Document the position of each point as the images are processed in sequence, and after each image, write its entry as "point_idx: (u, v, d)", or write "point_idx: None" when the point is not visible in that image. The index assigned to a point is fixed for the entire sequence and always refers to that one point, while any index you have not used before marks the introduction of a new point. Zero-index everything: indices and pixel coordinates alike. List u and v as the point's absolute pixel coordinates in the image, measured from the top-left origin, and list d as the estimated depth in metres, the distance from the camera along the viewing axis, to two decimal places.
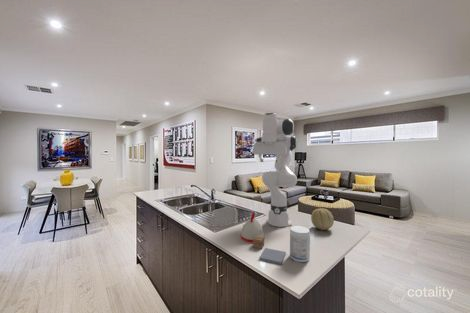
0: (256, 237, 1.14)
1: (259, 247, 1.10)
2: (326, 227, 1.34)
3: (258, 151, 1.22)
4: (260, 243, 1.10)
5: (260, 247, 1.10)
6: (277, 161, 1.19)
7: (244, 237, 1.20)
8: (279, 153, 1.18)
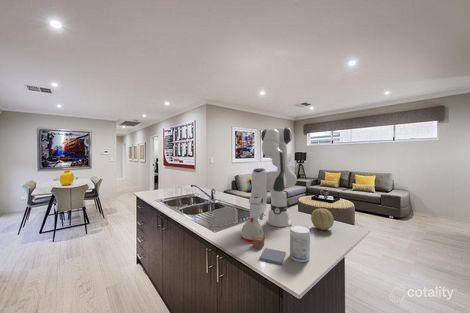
0: (256, 237, 1.14)
1: (259, 247, 1.10)
2: (326, 227, 1.34)
3: (258, 213, 1.06)
4: (260, 243, 1.10)
5: (260, 247, 1.10)
6: (262, 218, 1.17)
7: (244, 237, 1.20)
8: (264, 210, 1.18)
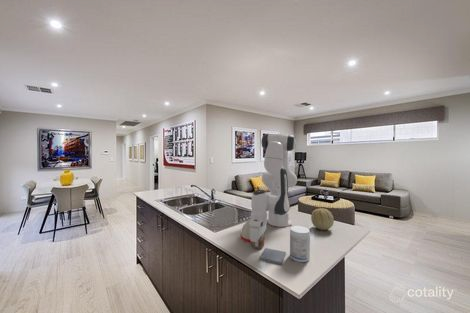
0: None
1: (259, 247, 1.11)
2: (326, 227, 1.34)
3: (258, 237, 1.07)
4: (260, 243, 1.10)
5: (260, 247, 1.10)
6: None
7: (244, 237, 1.20)
8: (264, 230, 1.18)
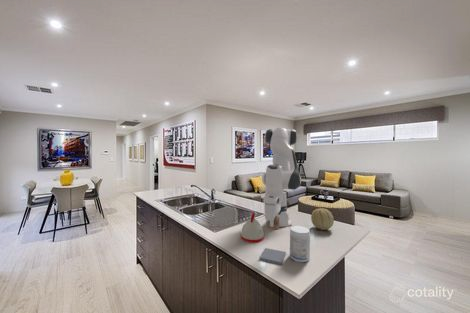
0: None
1: (274, 227, 0.99)
2: (326, 227, 1.34)
3: (274, 215, 0.95)
4: (276, 223, 0.99)
5: (276, 227, 0.99)
6: None
7: (244, 237, 1.20)
8: (279, 210, 1.07)
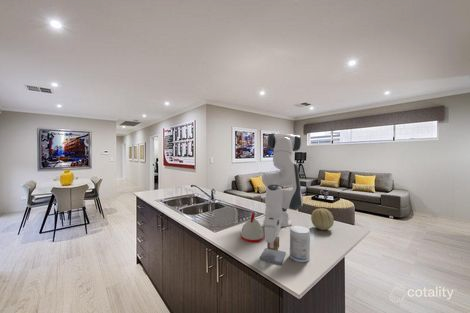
0: None
1: (274, 248, 0.99)
2: (326, 227, 1.34)
3: (274, 237, 0.95)
4: (276, 244, 0.99)
5: (276, 248, 0.99)
6: None
7: (244, 237, 1.20)
8: (279, 230, 1.07)
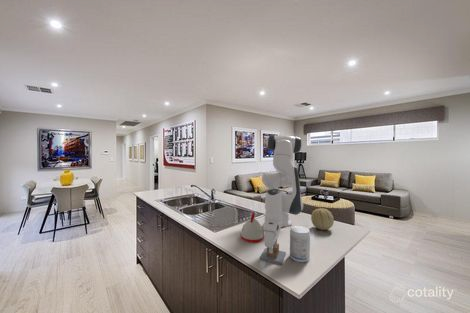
0: None
1: (274, 255, 0.99)
2: (326, 227, 1.34)
3: (274, 241, 0.95)
4: (275, 251, 0.99)
5: (275, 255, 0.99)
6: None
7: (244, 237, 1.20)
8: None
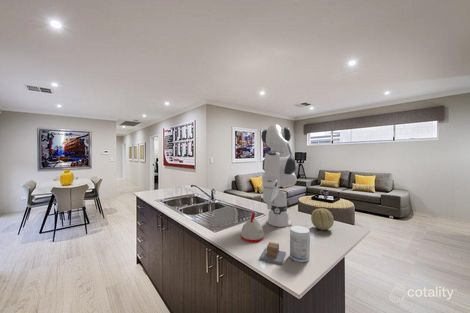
0: (270, 244, 1.02)
1: (274, 255, 0.99)
2: (326, 227, 1.34)
3: (272, 197, 1.03)
4: (275, 251, 0.99)
5: (275, 255, 0.99)
6: (274, 203, 1.14)
7: (244, 237, 1.20)
8: (277, 194, 1.14)
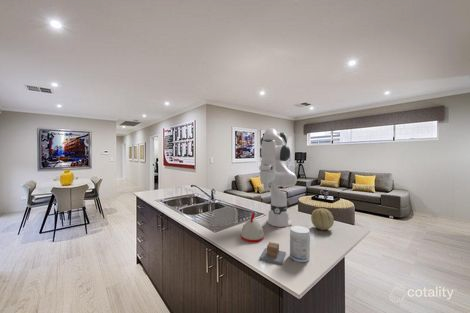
0: (270, 244, 1.02)
1: (274, 255, 0.99)
2: (326, 227, 1.34)
3: (268, 180, 1.12)
4: (275, 251, 0.99)
5: (275, 255, 0.99)
6: (271, 187, 1.23)
7: (244, 237, 1.20)
8: (273, 179, 1.24)
